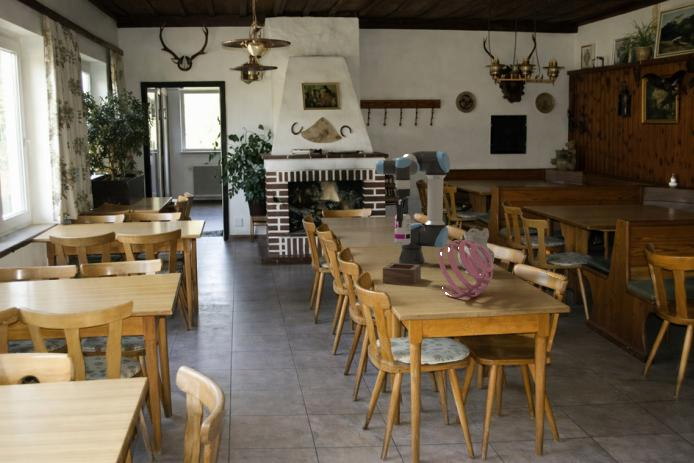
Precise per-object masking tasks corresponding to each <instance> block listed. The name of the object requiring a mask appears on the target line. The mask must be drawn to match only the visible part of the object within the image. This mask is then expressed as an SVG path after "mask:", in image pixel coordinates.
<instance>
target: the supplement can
mask: <svg viewBox="0 0 694 463" xmlns="http://www.w3.org/2000/svg"><path fill="white" fill-rule="evenodd" d="M396 220H397V213H396V214H395V216H394V243H395V245H399V246H402V245H408V244H409V243H411V224H412V222H411V221H412V218H411V216H410V214H403V234H398V221H396Z"/></svg>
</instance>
